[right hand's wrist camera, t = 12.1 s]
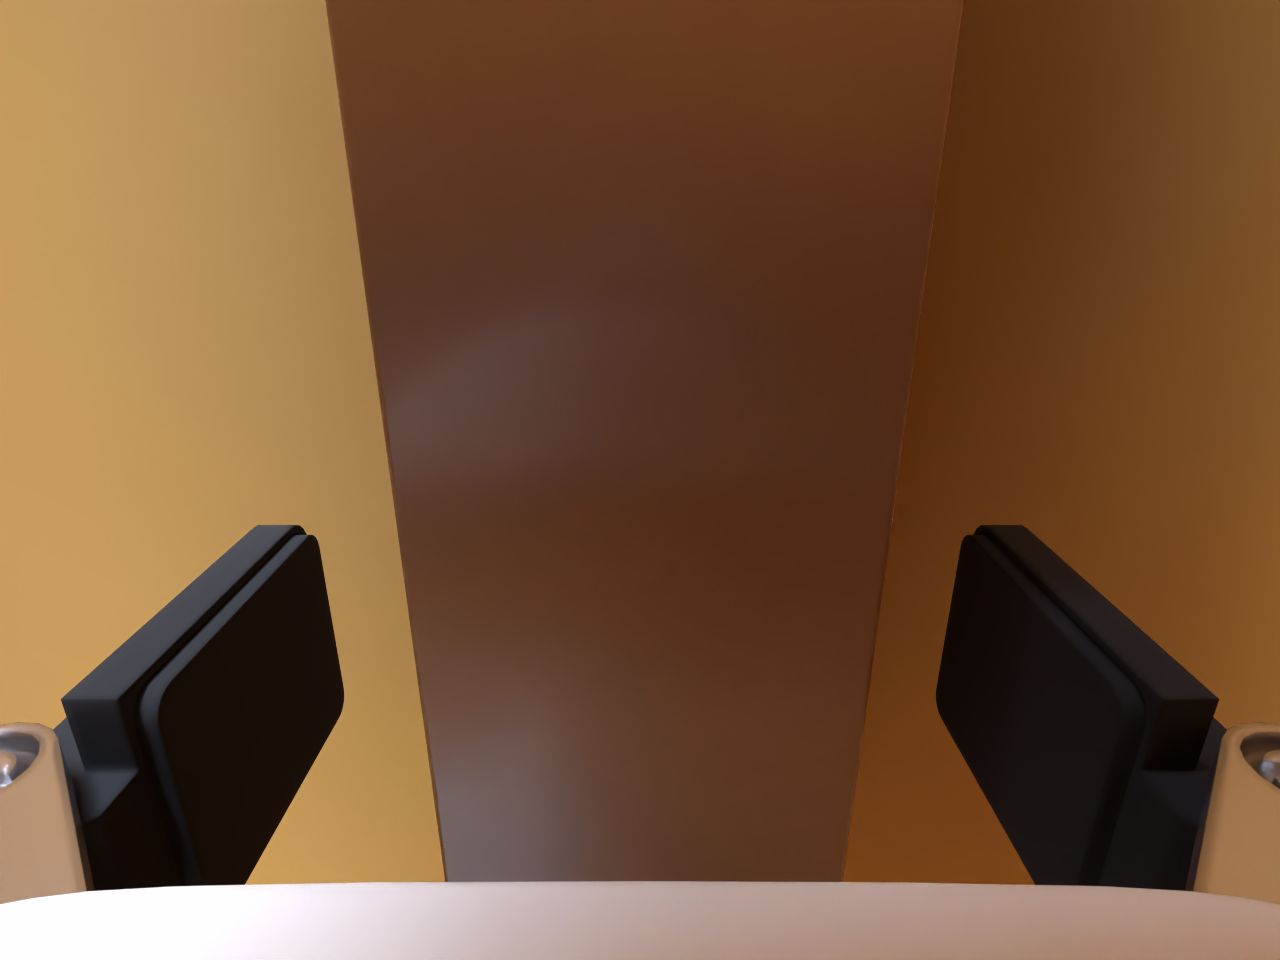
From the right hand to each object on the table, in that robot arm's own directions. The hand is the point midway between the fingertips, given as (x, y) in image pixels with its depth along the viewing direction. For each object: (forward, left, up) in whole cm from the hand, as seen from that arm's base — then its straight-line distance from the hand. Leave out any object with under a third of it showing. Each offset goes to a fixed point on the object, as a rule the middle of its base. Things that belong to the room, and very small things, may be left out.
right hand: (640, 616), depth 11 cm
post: (+19, 0, -6) cm, 20 cm away
